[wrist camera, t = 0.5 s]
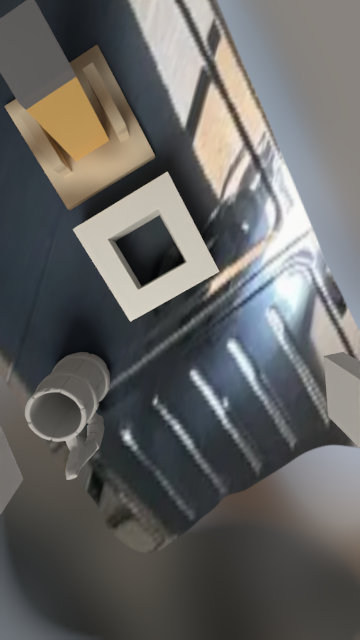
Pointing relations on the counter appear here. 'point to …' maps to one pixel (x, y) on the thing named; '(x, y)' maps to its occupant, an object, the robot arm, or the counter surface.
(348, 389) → the robot arm
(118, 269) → the port
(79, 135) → the plug
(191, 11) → the counter surface
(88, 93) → the beige plate with rail
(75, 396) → the mug
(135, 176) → the counter surface
